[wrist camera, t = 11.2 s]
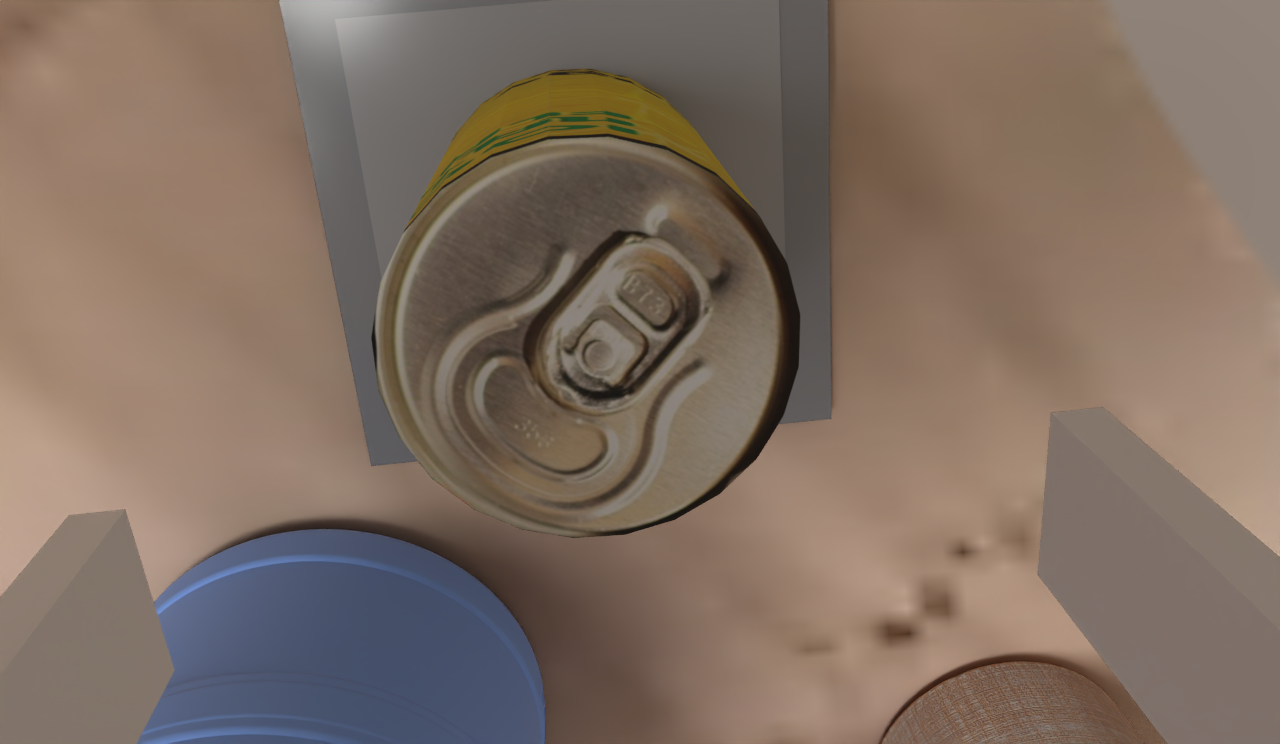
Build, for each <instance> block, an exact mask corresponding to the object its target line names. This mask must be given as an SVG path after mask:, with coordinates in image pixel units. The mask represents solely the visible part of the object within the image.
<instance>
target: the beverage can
mask: <svg viewBox="0 0 1280 744" xmlns="http://www.w3.org/2000/svg"><path fill="white" fill-rule="evenodd" d="M371 340H372V348H373V355H374V362H375V370H376V377H377V384H378V391H379V393H380V395H381V398H382V400H383V402H384V404H385V407H386V409H387V411H388V413H389V416H390V418H391V420H392V423H393V425H394V427H395V429H396V432H397V434H398V436H399V438H400V440H401V441H402V442H403V443H404V444H405V446H406V447H407V448H408V449H409V451H410V452H411V453H412V454H413V456H414V457H415V458H416V459H417V461H418V462H419V463H420V464H421V465H422V467H423V468H424V469H425V470H426V472H427V473H428V474H429V475H430V477H431V478H432V479H433V480H435V481H436V482H437V483H439V484H440V485H441V486H443V487H444V488H446V489H447V490H448V491H450V492H451V493H452V494H454V495H455V496H456V497H458V498H459V499H460V500H462V501H463V502H465V503H466V504H467V505H469V506H470V507H471V508H473V509H474V510H476V511H479V512H481V513H484V514H486V515H488V516H491V517H493V518H496V519H498V520H500V521H503V522H505V523H508V524H510V525H512V526H515V527H517V528H520V529H522V530H528V531H534V532H540V533H547V534H553V535H559V536H565V537H571V538H579V537H595V536H610V535H625V534H629V533H632V532H635V531H639V530H642V529H645V528H649V527H652V526H655V525H659V524H662V523H665V522H668V521H672V520H675V519H677V518H678V517H680V516H682V515H684V514H685V513H687V512H689V511H691V510H692V509H694V508H696V507H698V506H699V505H701V504H703V503H705V502H706V501H708V500H710V499H711V498H713V497H715V496H717V495H718V494H720V493H721V492H722V491H723V490H724V489H725V488H726V487H727V486H728V485H729V484H730V483H731V482H733V481H734V480H735V479H736V478H737V477H738V476H739V475H740V474H741V473H742V472H743V471H744V470H745V469H746V468H747V467H748V466H749V465H750V464H751V463H752V462H754V461H755V460H756V459H757V457H758V456H759V454H760V452H761V451H762V449H763V448H764V446H765V444H766V443H767V441H768V440H769V438H770V437H771V435H772V433H773V432H774V430H775V429H776V427H777V425H778V424H779V422H780V421H781V419H782V417H783V416H784V413H785V410H786V407H787V403H788V400H789V397H790V394H791V391H792V387H793V384H794V381H795V378H796V374H797V371H798V368H799V348H800V311H799V307H798V303H797V299H796V295H795V291H794V287H793V283H792V279H791V276H790V272H789V268H788V264H787V262H786V260H785V258H784V257H783V255H782V253H781V252H780V250H779V248H778V247H777V245H776V243H775V241H774V240H773V238H772V236H771V235H770V233H769V231H768V229H767V228H766V226H765V224H764V223H763V221H762V219H761V218H760V216H759V215H758V213H757V212H756V211H755V209H754V208H753V207H752V205H751V204H750V203H749V201H748V200H747V198H746V197H745V196H744V194H743V193H742V192H741V190H740V189H739V188H738V186H737V185H736V184H735V182H734V181H733V180H732V178H731V177H730V176H729V174H728V173H727V172H726V170H725V169H724V168H723V166H722V165H721V164H720V162H719V161H718V160H717V158H716V157H715V156H714V154H713V153H712V152H711V150H710V149H709V148H708V146H707V145H706V144H705V142H704V141H703V139H702V138H701V137H700V135H699V134H698V133H697V131H696V130H695V129H694V127H693V126H692V125H691V123H690V122H689V121H688V120H687V119H686V118H685V117H684V116H683V115H682V114H681V113H679V112H678V111H677V110H676V109H675V108H674V107H673V106H672V105H671V104H670V103H669V102H668V101H667V100H666V99H665V98H664V97H663V96H661V95H660V94H658V93H656V92H654V91H652V90H650V89H649V88H647V87H645V86H643V85H641V84H639V83H638V82H636V81H634V80H632V79H630V78H628V77H624V76H620V75H616V74H612V73H607V72H603V71H599V70H595V69H565V70H550V71H547V72H543V73H540V74H537V75H534V76H531V77H528V78H525V79H522V80H519V81H515V82H513V83H512V84H510V85H509V86H507V87H506V88H504V89H502V90H501V91H499V92H498V93H496V94H495V95H493V96H492V97H490V98H489V99H487V100H486V101H484V102H483V103H481V104H480V106H479V107H478V108H477V109H476V110H475V111H474V113H473V114H472V115H471V116H470V117H469V118H468V120H467V121H466V122H465V123H464V124H463V125H462V127H461V128H460V129H459V130H458V131H457V132H456V134H455V136H454V138H453V140H452V142H451V143H450V145H449V147H448V149H447V151H446V153H445V155H444V157H443V159H442V160H441V162H440V164H439V166H438V168H437V170H436V172H435V174H434V176H433V177H432V179H431V181H430V183H429V185H428V187H427V189H426V191H425V193H424V194H423V196H422V198H421V200H420V202H419V204H418V206H417V208H416V209H415V211H414V213H413V215H412V217H411V219H410V221H409V223H408V225H407V226H406V228H405V230H404V232H403V234H402V236H401V238H400V241H399V243H398V245H397V247H396V249H395V251H394V253H393V256H392V258H391V260H390V262H389V264H388V266H387V268H386V271H385V273H384V275H383V277H382V279H381V281H380V284H379V289H378V295H377V302H376V309H375V315H374V322H373V329H372V335H371Z"/></svg>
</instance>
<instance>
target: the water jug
mask: <svg viewBox="0 0 1280 744" xmlns="http://www.w3.org/2000/svg"><path fill="white" fill-rule="evenodd" d="M154 605H155V608H156V611H157V615H158V618H159V621H160V624H161V628H162V631H163V634H164V637H165V641H166V644H167V647H168V650H169V654H170V657H171V660H172V663H173V667H174V670H175V671H174V673H173V675H172V676H171V678H170V680H169V682H168V684H167V686H166V688H165V690H164V692H163V694H162V696H161V698H160V700H159V702H158V703H157V705H156V707H155V709H154V711H153V713H152V715H151V717H150V719H149V721H148V723H147V725H146V727H145V729H144V730H143V732H142V734H141V736H140V738H139V740H138V742H137V744H545V734H546V708H545V699H544V689H543V683H542V678H541V674H540V670H539V666H538V663H537V660H536V657H535V655H534V652H533V650H532V647H531V645H530V643H529V641H528V639H527V637H526V635H525V634H524V632H523V630H522V629H521V627H520V625H519V624H518V622H517V621H516V619H515V618H514V617H513V615H512V614H511V613H510V611H509V610H508V609H507V608H506V607H505V605H504V604H503V603H502V602H501V601H500V600H499V599H498V598H497V597H496V596H495V595H494V594H493V593H492V592H491V591H490V590H489V589H488V588H487V587H486V586H485V585H483V584H482V583H481V582H480V581H479V580H477V579H476V578H475V577H473V576H472V575H471V574H469V573H468V572H467V571H465V570H464V569H462V568H460V567H459V566H457V565H456V564H454V563H452V562H451V561H449V560H447V559H445V558H443V557H441V556H439V555H437V554H435V553H433V552H431V551H429V550H426V549H424V548H422V547H419V546H417V545H414V544H411V543H408V542H405V541H402V540H399V539H395V538H391V537H387V536H383V535H379V534H374V533H368V532H361V531H353V530H341V529H311V530H298V531H290V532H284V533H278V534H273V535H268V536H264V537H260V538H257V539H253V540H250V541H247V542H244V543H241V544H238V545H236V546H233V547H231V548H228V549H226V550H224V551H222V552H220V553H218V554H216V555H214V556H212V557H210V558H208V559H206V560H204V561H203V562H201V563H200V564H198V565H196V566H195V567H193V568H192V569H190V570H189V571H188V572H186V573H185V574H184V575H182V576H181V577H180V578H178V579H177V580H176V581H175V582H174V583H173V584H171V585H170V586H169V587H168V588H167V589H166V590H165V591H164V592H163V593H162V594H161V595H160V596H159V597H158V598H157V600H156V601H155V602H154Z"/></svg>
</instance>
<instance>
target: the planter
mask: <svg viewBox="0 0 1280 744" xmlns="http://www.w3.org/2000/svg"><path fill="white" fill-rule="evenodd" d="M881 744H1145V743H1144V742H1143V741H1142V739H1141V738H1140V736H1139V735H1138V734H1137V732H1136V731H1135V729H1134V728H1133V726H1132V725H1131V724H1130V722H1129V721H1128V719H1127V718H1126V717H1125V715H1124V714H1123V713H1122V711H1121V710H1120V708H1119V707H1118V706H1117V705H1116V703H1115V702H1114V701H1113V700H1112V699H1111V698H1110V697H1109V696H1108V695H1107V694H1106V693H1105V692H1104V691H1103V690H1102V689H1101V688H1100V687H1099V686H1098V685H1096V684H1095V683H1094V682H1093V681H1091V680H1090V679H1088V678H1087V677H1085V676H1083V675H1081V674H1079V673H1077V672H1075V671H1073V670H1070V669H1067V668H1065V667H1061V666H1058V665H1054V664H1048V663H1042V662H1032V661H1014V662H1003V663H997V664H991V665H986V666H982V667H979V668H975V669H972V670H969V671H966V672H964V673H961V674H959V675H956V676H954V677H952V678H950V679H947V680H945V681H943V682H942V683H940V684H938V685H936V686H935V687H933V688H932V689H930V690H929V691H927V692H926V693H924V694H923V695H922V696H920V697H919V698H918V699H916V700H915V701H914V702H913V703H912V704H911V705H909V706H908V707H907V708H906V709H905V710H904V711H903V712H902V713H901V715H900V716H899V717H898V718H897V719H896V720H895V722H894V723H893V724H892V726H891V727H890V728H889V730H888V732H887V733H886V735H885V736H884V738H883V740H882V742H881Z"/></svg>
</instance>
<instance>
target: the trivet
mask: <svg viewBox="0 0 1280 744" xmlns="http://www.w3.org/2000/svg"><path fill="white" fill-rule="evenodd" d="M279 3H280V8H281V13H282V18H283V23H284V28H285V33H286V38H287V43H288V48H289V53H290V58H291V63H292V69H293V74H294V79H295V84H296V89H297V94H298V99H299V104H300V109H301V114H302V119H303V124H304V129H305V134H306V139H307V144H308V149H309V154H310V159H311V164H312V169H313V174H314V179H315V185H316V190H317V195H318V200H319V205H320V210H321V215H322V220H323V225H324V230H325V235H326V240H327V245H328V250H329V255H330V260H331V265H332V270H333V275H334V280H335V285H336V290H337V295H338V301H339V306H340V311H341V316H342V321H343V326H344V331H345V336H346V341H347V346H348V351H349V356H350V361H351V366H352V371H353V376H354V381H355V386H356V391H357V396H358V401H359V406H360V411H361V416H362V422H363V427H364V432H365V437H366V442H367V447H368V452H369V457H370V462H371V466H376V465H385V464H395V463H405V462H415V461H417V459H416V458H415V457H414V456H413V454H412V453H411V452H410V451H409V449H408V448H407V447H406V446H405V444H404V443H403V442H402V441H401V440H400V438H399V436H398V434H397V432H396V429H395V427H394V425H393V423H392V420H391V418H390V416H389V413H388V411H387V409H386V407H385V404H384V402H383V400H382V398H381V395H380V393H379V391H378V384H377V377H376V370H375V362H374V355H373V348H372V340H371V335H372V329H373V322H374V315H375V309H376V302H377V295H378V289H379V284H380V281H381V279H382V277H383V275H384V273H385V271H386V268H387V266H388V264H389V262H390V260H391V258H392V256H393V253H394V251H395V249H396V247H397V245H398V243H399V241H400V238H401V236H402V234H403V232H404V230H405V228H406V226H407V225H408V223H409V221H410V219H411V217H412V215H413V213H414V211H415V209H416V208H417V206H418V204H419V202H420V200H421V198H422V196H423V194H424V193H425V191H426V189H427V187H428V185H429V183H430V181H431V179H432V177H433V176H434V174H435V172H436V170H437V168H438V166H439V164H440V162H441V160H442V159H443V157H444V155H445V153H446V151H447V149H448V147H449V145H450V143H451V142H452V140H453V138H454V136H455V134H456V132H457V131H458V130H459V129H460V128H461V127H462V125H463V124H464V123H465V122H466V121H467V120H468V118H469V117H470V116H471V115H472V114H473V113H474V111H475V110H476V109H477V108H478V107H479V106H480V104H481V103H483V102H484V101H486V100H487V99H489V98H490V97H492V96H493V95H495V94H496V93H498V92H499V91H501V90H502V89H504V88H506V87H507V86H509V85H510V84H512V83H513V82H515V81H519V80H522V79H525V78H528V77H531V76H534V75H537V74H540V73H543V72H547V71H550V70H565V69H595V70H599V71H603V72H607V73H612V74H616V75H620V76H624V77H628V78H630V79H632V80H634V81H636V82H638V83H639V84H641V85H643V86H645V87H647V88H649V89H650V90H652V91H654V92H656V93H658V94H660V95H661V96H663V97H664V98H665V99H666V100H667V101H668V102H669V103H670V104H671V105H672V106H673V107H674V108H675V109H676V110H677V111H678V112H679V113H681V114H682V115H683V116H684V117H685V118H686V119H687V120H688V121H689V122H690V123H691V125H692V126H693V127H694V129H695V130H696V131H697V133H698V134H699V135H700V137H701V138H702V139H703V141H704V142H705V144H706V145H707V146H708V148H709V149H710V150H711V152H712V153H713V154H714V156H715V157H716V158H717V160H718V161H719V162H720V164H721V165H722V166H723V168H724V169H725V170H726V172H727V173H728V174H729V176H730V177H731V178H732V180H733V181H734V182H735V184H736V185H737V186H738V188H739V189H740V190H741V192H742V193H743V194H744V196H745V197H746V198H747V200H748V201H749V203H750V204H751V205H752V207H753V208H754V209H755V211H756V212H757V213H758V215H759V216H760V218H761V219H762V221H763V223H764V224H765V226H766V228H767V229H768V231H769V233H770V235H771V236H772V238H773V240H774V241H775V243H776V245H777V247H778V248H779V250H780V252H781V253H782V255H783V257H784V258H785V260H786V262H787V264H788V268H789V272H790V276H791V279H792V283H793V287H794V291H795V295H796V299H797V303H798V307H799V311H800V348H799V368H798V371H797V374H796V378H795V381H794V384H793V387H792V391H791V394H790V397H789V400H788V403H787V407H786V410H785V413H784V416H783V417H782V419H781V421H780V422H779V424H785V423H795V422H804V421H814V420H824V419H831V305H830V177H829V49H828V0H279Z"/></svg>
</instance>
